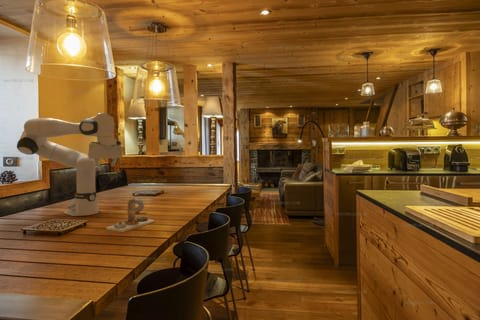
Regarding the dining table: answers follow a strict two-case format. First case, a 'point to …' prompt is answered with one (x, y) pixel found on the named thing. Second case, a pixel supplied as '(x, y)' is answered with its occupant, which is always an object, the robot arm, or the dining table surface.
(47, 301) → the dining table surface
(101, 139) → the robot arm
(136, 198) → the donut
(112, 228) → the gear board
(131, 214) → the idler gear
